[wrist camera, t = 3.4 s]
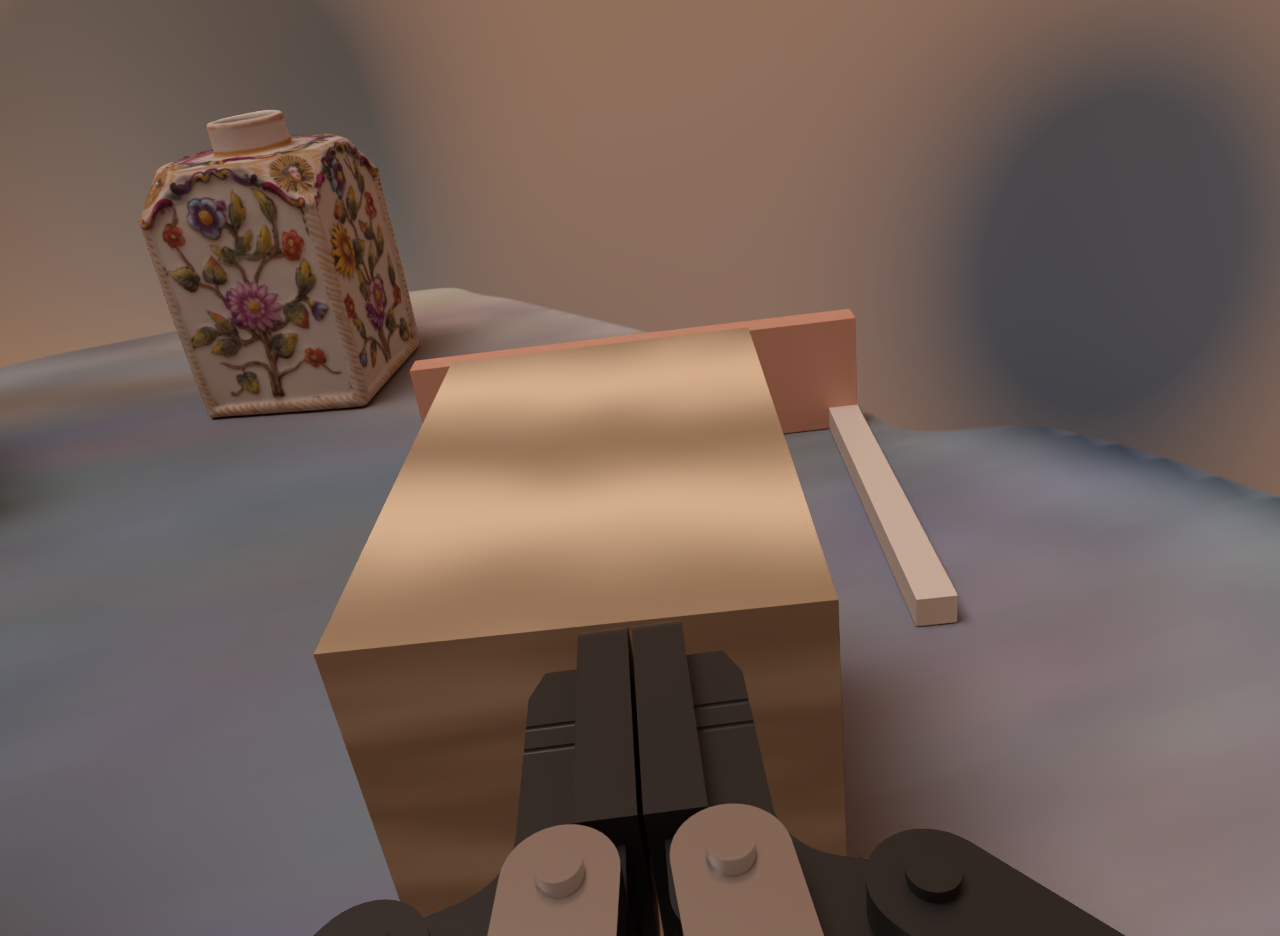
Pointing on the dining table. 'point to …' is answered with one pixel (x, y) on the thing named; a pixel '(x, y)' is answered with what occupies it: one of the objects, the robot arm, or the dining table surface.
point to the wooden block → (577, 587)
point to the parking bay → (804, 400)
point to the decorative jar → (279, 269)
